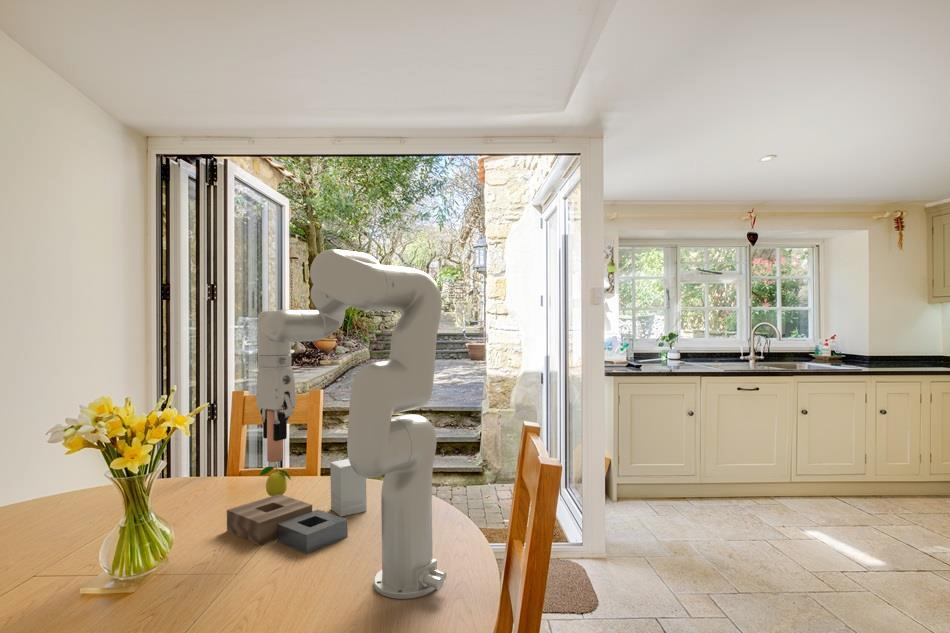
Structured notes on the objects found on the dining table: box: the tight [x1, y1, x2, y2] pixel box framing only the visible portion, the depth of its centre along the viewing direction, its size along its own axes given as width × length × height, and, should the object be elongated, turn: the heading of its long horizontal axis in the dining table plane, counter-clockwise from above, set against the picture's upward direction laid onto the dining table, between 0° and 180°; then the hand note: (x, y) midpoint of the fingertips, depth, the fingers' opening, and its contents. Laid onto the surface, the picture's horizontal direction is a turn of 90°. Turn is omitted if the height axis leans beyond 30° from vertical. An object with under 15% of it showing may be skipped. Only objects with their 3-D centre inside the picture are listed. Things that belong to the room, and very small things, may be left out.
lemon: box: [259, 462, 291, 497], centre depth 149 cm, size 7×6×10 cm
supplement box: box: [329, 458, 368, 517], centre depth 140 cm, size 7×7×13 cm
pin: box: [266, 408, 284, 463], centre depth 127 cm, size 4×4×12 cm
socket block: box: [226, 494, 313, 546], centre depth 128 cm, size 14×14×5 cm
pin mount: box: [276, 509, 349, 555], centre depth 121 cm, size 11×11×4 cm
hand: (274, 437), depth 127 cm, fingers closed on pin, 3 cm apart
